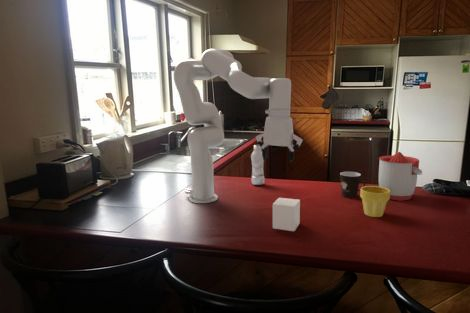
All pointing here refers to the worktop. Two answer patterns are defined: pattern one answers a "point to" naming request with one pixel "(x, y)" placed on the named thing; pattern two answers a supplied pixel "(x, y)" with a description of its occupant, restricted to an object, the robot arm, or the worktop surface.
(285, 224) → the pale grey cube
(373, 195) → the plant pot
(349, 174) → the coffee mug
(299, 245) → the worktop surface
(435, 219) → the worktop surface
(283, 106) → the robot arm
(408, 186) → the citrus juicer
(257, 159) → the plastic bottle
